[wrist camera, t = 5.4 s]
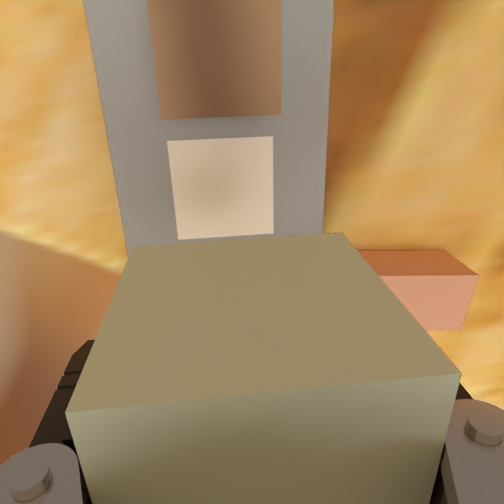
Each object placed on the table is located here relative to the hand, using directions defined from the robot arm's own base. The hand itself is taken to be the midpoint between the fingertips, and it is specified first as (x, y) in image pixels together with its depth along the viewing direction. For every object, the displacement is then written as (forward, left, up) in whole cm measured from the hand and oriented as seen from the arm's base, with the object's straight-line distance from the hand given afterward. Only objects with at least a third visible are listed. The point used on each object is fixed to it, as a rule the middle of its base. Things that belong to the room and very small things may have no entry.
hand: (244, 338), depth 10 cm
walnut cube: (0, -7, -14) cm, 16 cm away
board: (0, -3, -15) cm, 16 cm away
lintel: (-9, +7, -16) cm, 19 cm away
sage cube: (0, 0, 0) cm, 0 cm away
